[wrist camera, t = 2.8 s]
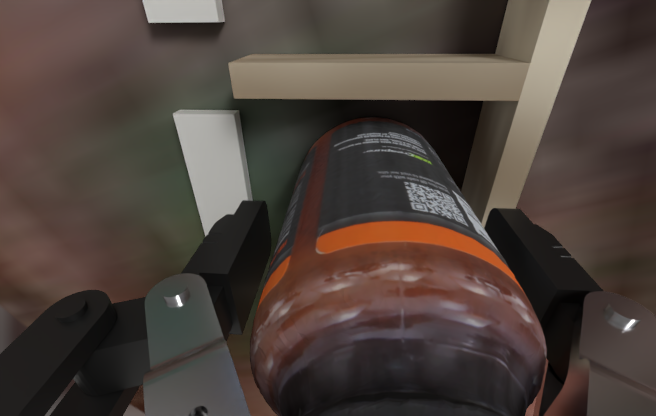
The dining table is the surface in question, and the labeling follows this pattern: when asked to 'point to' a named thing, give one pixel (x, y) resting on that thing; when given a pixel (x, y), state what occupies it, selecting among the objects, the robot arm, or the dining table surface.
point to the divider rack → (450, 89)
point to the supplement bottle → (390, 291)
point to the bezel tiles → (208, 129)
